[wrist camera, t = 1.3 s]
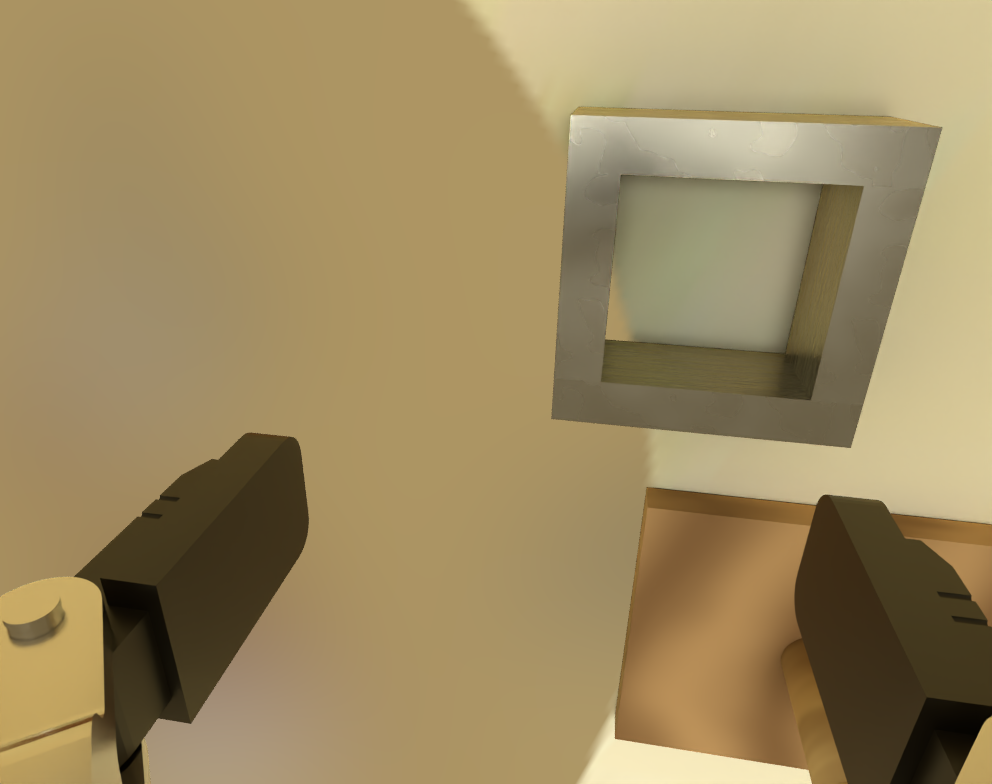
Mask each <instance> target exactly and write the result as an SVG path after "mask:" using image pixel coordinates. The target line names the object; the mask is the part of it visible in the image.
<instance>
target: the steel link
mask: <svg viewBox="0 0 992 784" xmlns="http://www.w3.org/2000/svg"><path fill="white" fill-rule="evenodd" d="M941 130H942V127H937V126H933V125H928V124H923V123H918V122H914V121H909V120H904V119H900V118H895V117H885V116H853V115H822V114H791V113H760V112H729V111H698V110H667V109H636V108H605V107H578V108H577V109H576V110H575V111H574V112H573V113H572V114H571V117H570V133H569V149H568V165H567V181H566V197H565V214H564V229H563V244H562V261H561V277H560V292H559V307H558V308H559V309H558V323H557V324H558V325H557V339H556V355H555V371H554V388H553V403H552V419H558V420H568V421H578V422H589V423H599V424H609V425H610V424H611V425H620V426H630V427H641V428H651V429H661V430H671V431H682V432H692V433H702V434H713V435H723V436H733V437H744V438H754V439H764V440H775V441H785V442H795V443H806V444H816V445H826V446H837V447H847V448H851V445H852V441H853V438H854V434H855V431H856V427H857V424H858V420H859V417H860V413H861V410H862V406H863V403H864V399H865V396H866V392H867V389H868V386H869V382H870V379H871V375H872V372H873V368H874V365H875V361H876V358H877V354H878V351H879V347H880V344H881V340H882V337H883V333H884V330H885V326H886V323H887V319H888V316H889V312H890V309H891V305H892V302H893V298H894V295H895V291H896V288H897V284H898V281H899V277H900V274H901V270H902V267H903V263H904V260H905V256H906V253H907V249H908V246H909V242H910V239H911V235H912V232H913V228H914V225H915V221H916V218H917V214H918V211H919V207H920V204H921V200H922V197H923V193H924V190H925V186H926V183H927V179H928V176H929V172H930V169H931V165H932V162H933V158H934V155H935V151H936V148H937V144H938V141H939V137H940V134H941ZM621 175H637V176H659V177H681V178H703V179H725V180H747V181H768V182H790V183H812V184H823V187H822V191H821V196H820V200H819V205H818V209H817V214H816V218H815V223H814V227H813V232H812V236H811V241H810V245H809V250H808V254H807V259H806V263H805V268H804V272H803V277H802V281H801V286H800V290H799V295H798V299H797V304H796V308H795V313H794V317H793V322H792V326H791V331H790V335H789V340H788V344H787V349H786V353H785V354H780V353H767V352H755V351H742V350H729V349H717V348H704V347H692V346H679V345H667V344H654V343H641V342H629V341H616V340H605V335H606V324H607V314H608V304H609V303H608V302H609V293H610V283H611V273H612V262H613V252H614V242H615V231H616V221H617V210H618V200H619V190H620V179H621Z"/></svg>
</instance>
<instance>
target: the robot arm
mask: <svg viewBox="0 0 992 784" xmlns="http://www.w3.org/2000/svg"><path fill="white" fill-rule="evenodd" d="M308 524H309V517H308V507H307V499H306V490H305V482H304V474H303V465H302V457H301V450H300V446H299V443H298V441H297V440H296V439H295V438H294V437H287V436H277V435H268V434H258V433H246V434H245V435H243V436H242V437H241V438H240V439H239V440H238V441H237V442H236V443H235V444H234V445H233V446H232V447H231V448H230V449H229V450H228V451H227V452H226V453H225V454H224V455H223V456H222V457H221V458H220V459H219V460H215V459H211V460H209V461H208V462H206V463H204V464H202V465H200V466H198V467H196V468H194V469H192V470H191V471H189V472H187V473H185V474H183V475H181V476H180V477H179V478H178V479H177V480H176V481H175V482H174V483H173V484H172V485H171V486H169V488H167V489H166V490H165V491H164V492H163V493H162V494H161V495H160V499H159V500H155V501H154V502H153V503H152V504H150V505H149V506H148V507H147V508H146V509H145V510H144V511H143V512H142V516H141V517H137V518H136V519H135V520H133V521H132V523H130V524H129V525H128V526H127V527H126V528H125V529H124V530H123V531H122V532H121V533H120V534H119V535H118V536H117V537H116V538H115V539H114V540H112V541H111V542H110V543H109V544H108V545H107V546H106V547H105V548H104V549H103V550H102V551H101V552H100V553H99V554H98V555H96V556H95V558H93V559H92V560H91V561H90V562H89V563H88V564H87V565H86V566H85V567H84V568H83V569H82V570H81V571H80V572H79V573H77V574H76V575H75V576H74V577H55V578H48V579H44V580H39V581H35V582H32V583H29V584H26V585H24V586H21V587H19V588H16V589H14V590H12V591H10V592H8V593H6V594H4V595H2V596H0V784H151V781H150V769H149V758H148V749H147V745H146V742H145V738H144V737H145V736H146V734H147V733H148V731H149V730H150V729H151V727H152V726H153V724H154V723H155V722H156V720H157V719H158V718H160V719H166V720H172V721H178V722H184V723H190V724H191V723H192V721H193V720H194V718H195V717H196V715H197V713H198V712H199V711H200V709H201V707H202V706H203V704H204V703H205V701H206V700H207V698H208V697H209V695H210V693H211V692H212V690H213V689H214V687H215V686H216V684H217V682H218V681H219V680H220V678H221V677H222V675H223V673H224V672H225V670H226V669H227V667H228V666H229V664H230V663H231V661H232V660H233V658H234V656H235V655H236V653H237V652H238V650H239V648H240V647H241V646H242V644H243V642H244V641H245V640H246V638H247V636H248V635H249V633H250V632H251V630H252V628H253V627H254V625H255V624H256V622H257V621H258V619H259V618H260V616H261V615H262V613H263V612H264V610H265V609H266V607H267V606H268V604H269V602H270V601H271V599H272V597H273V596H274V595H275V593H276V592H277V590H278V588H279V587H280V585H281V584H282V582H283V581H284V579H285V578H286V576H287V575H288V573H289V572H290V570H291V568H292V567H293V565H294V564H295V562H296V560H297V559H298V558H299V556H300V554H301V552H302V550H303V548H304V545H305V542H306V538H307V533H308ZM971 597H972V595H971V594H970V592H969V591H968V589H967V588H966V586H965V585H964V583H963V581H962V580H961V578H960V577H959V575H958V574H957V572H956V571H955V569H954V568H953V566H951V565H950V564H949V563H948V562H947V561H945V560H944V559H943V558H942V557H940V556H939V555H938V554H937V553H936V552H934V551H933V550H932V549H931V548H930V547H928V546H927V545H926V544H925V543H923V542H922V541H921V540H915V539H906V538H905V537H904V536H903V534H902V532H901V531H900V529H899V527H898V526H897V524H896V522H895V521H894V519H893V517H892V516H891V514H890V512H889V510H888V509H887V507H886V506H885V504H884V503H883V502H882V501H879V500H871V499H861V498H852V497H842V496H833V495H823V496H822V497H821V498H820V499H819V501H818V503H817V505H816V508H815V512H814V515H813V519H812V523H811V526H810V530H809V534H808V537H807V541H806V544H805V548H804V552H803V555H802V559H801V563H800V566H799V570H798V573H797V577H796V583H795V592H794V605H795V614H796V620H797V623H798V627H799V630H800V633H801V636H802V639H803V643H804V646H805V649H806V652H807V655H808V659H809V662H810V665H811V668H812V671H813V674H814V678H815V681H816V684H817V687H818V690H819V694H820V697H821V700H822V703H823V706H824V710H825V713H826V716H827V719H828V722H829V726H830V729H831V732H832V735H833V738H834V742H835V745H836V748H837V751H838V754H839V757H840V761H841V764H842V767H843V770H844V773H845V777H846V780H847V783H848V784H992V627H991V626H988V624H987V622H988V620H987V618H986V617H985V615H984V614H983V612H982V610H981V609H980V607H979V606H978V604H977V603H976V601H972V600H971Z"/></svg>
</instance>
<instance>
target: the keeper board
mask: <svg viewBox="0 0 992 784" xmlns="http://www.w3.org/2000/svg"><path fill="white" fill-rule="evenodd" d="M815 508H816V506H814V505H804V504H795V503H786V502H777V501H768V500H758V499H749V498H740V497H731V496H722V495H712V494H703V493H694V492H685V491H676V490H666V489H657V488H648V487H647V489H646V496H645V503H644V511H643V518H642V525H641V532H640V539H639V547H638V554H637V561H636V568H635V576H634V582H633V590H632V597H631V604H630V611H629V618H628V626H627V633H626V640H625V647H624V655H623V661H622V669H621V676H620V683H619V690H618V697H617V705H616V712H615V739H620V740H626V741H632V742H638V743H645V744H651V745H657V746H663V747H670V748H676V749H682V750H688V751H694V752H701V753H707V754H713V755H719V756H726V757H732V758H738V759H744V760H751V761H757V762H763V763H769V764H775V765H782V766H788V767H794V768H800V769H807V770H809V773H810V777H811V781H812V784H848V783H847V780H846V777H845V773H844V770H843V767H842V764H841V761H840V757H839V754H838V751H837V748H836V745H835V742H834V738H833V735H832V732H831V729H830V726H829V722H828V719H827V716H826V713H825V710H824V706H823V703H822V700H821V697H820V694H819V690H818V687H817V684H816V681H815V678H814V674H813V671H812V668H811V665H810V662H809V659H808V655H807V652H806V649H805V646H804V643H803V639H802V636H801V633H800V630H799V627H798V623H797V620H796V614H795V605H794V592H795V583H796V577H797V573H798V570H799V566H800V563H801V559H802V555H803V552H804V548H805V544H806V541H807V537H808V534H809V530H810V526H811V523H812V519H813V515H814V512H815ZM891 516H892V517H893V519H894V521H895V522H896V524H897V526H898V527H899V529H900V531H901V532H902V534H903V536H904V537H905V538H906V539H915V540H921V541H922V542H923V543H925V544H926V545H927V546H928V547H930V548H931V549H932V550H933V551H934V552H936V553H937V554H938V555H939V556H940V557H942V558H943V559H944V560H945V561H947V562H948V563H949V564H950V565H951V566H953V568H954V569H955V571H956V572H957V574H958V575H959V577H960V578H961V580H962V581H963V583H964V585H965V586H966V588H967V589H968V591H969V592H970V594H971V595H972V597H971V600H972V601H976V603H977V604H978V606H979V607H980V609H981V610H982V612H983V614H984V615H985V617H986V618H987V620H988V622H987V624H988V626H991V627H992V525H988V524H979V523H970V522H961V521H952V520H942V519H933V518H924V517H915V516H906V515H896V514H891Z"/></svg>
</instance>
